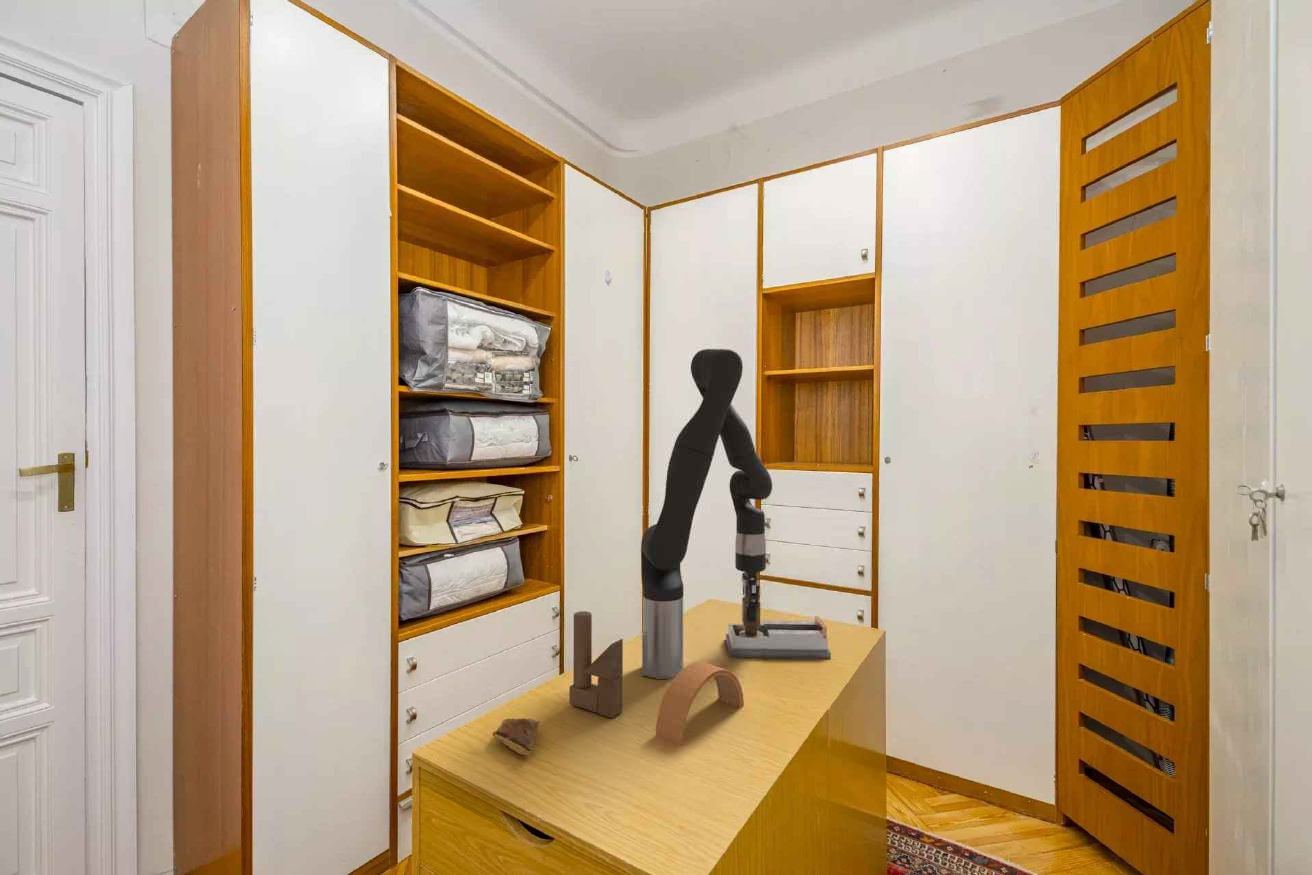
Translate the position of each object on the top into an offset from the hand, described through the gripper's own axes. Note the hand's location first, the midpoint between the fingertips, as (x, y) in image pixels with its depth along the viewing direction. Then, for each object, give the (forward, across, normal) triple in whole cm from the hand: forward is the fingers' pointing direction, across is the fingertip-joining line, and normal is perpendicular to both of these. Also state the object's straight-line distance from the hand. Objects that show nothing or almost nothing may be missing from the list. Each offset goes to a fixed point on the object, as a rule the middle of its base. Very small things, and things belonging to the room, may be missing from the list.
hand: (750, 618), depth 145 cm
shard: (+9, +47, -41) cm, 64 cm away
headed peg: (+5, 0, 0) cm, 5 cm away
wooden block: (+8, +33, -34) cm, 48 cm away
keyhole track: (+8, 0, +6) cm, 10 cm away
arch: (+8, +37, -14) cm, 40 cm away
